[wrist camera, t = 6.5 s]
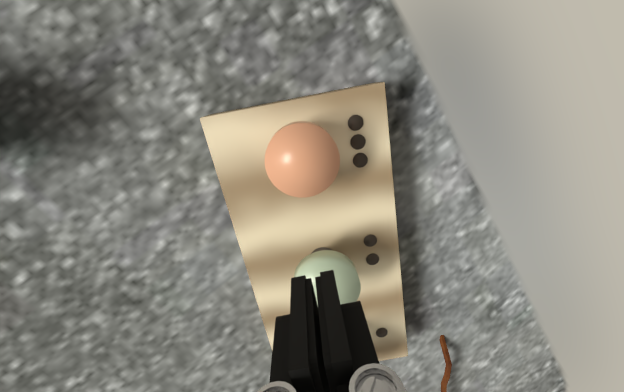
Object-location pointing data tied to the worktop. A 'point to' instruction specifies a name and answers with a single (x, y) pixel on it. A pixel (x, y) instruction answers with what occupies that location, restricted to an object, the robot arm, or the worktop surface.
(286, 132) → the terracotta key
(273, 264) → the wooden button board
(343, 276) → the sage key
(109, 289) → the worktop surface
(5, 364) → the worktop surface
